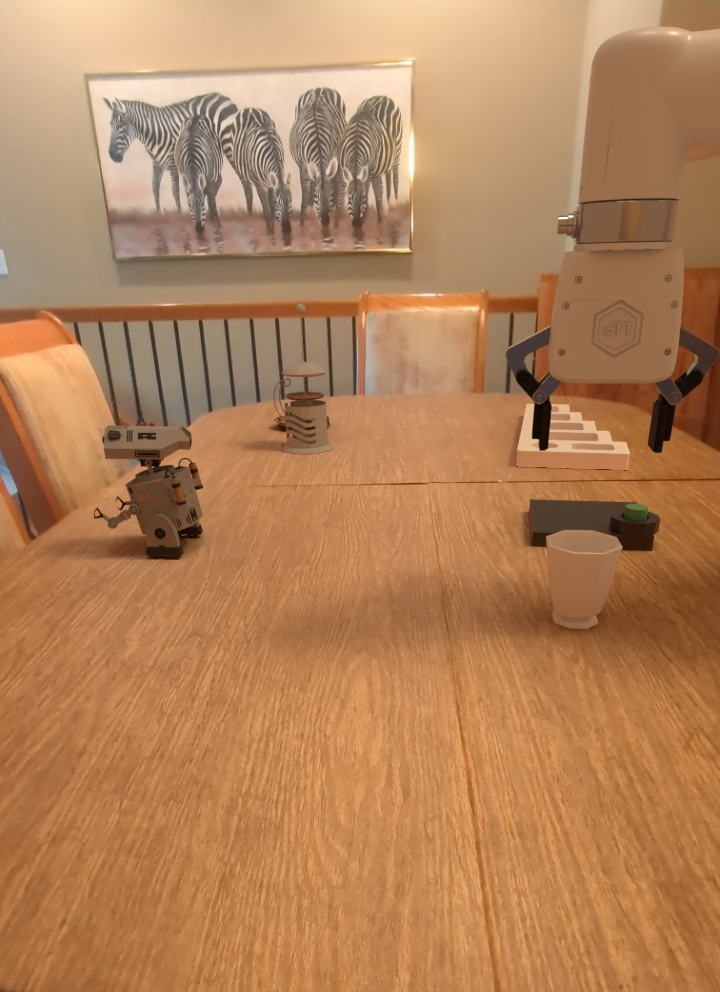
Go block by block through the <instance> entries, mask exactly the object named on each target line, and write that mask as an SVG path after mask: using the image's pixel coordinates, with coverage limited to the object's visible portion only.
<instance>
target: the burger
mask: <svg viewBox="0 0 720 992" xmlns="http://www.w3.org/2000/svg"><path fill="white" fill-rule="evenodd" d="M310 391H311V392H313V389H311V390H310ZM311 400H312V399H311ZM296 401H298V400H296ZM307 407H313V405H312V406H307ZM288 415H289V416H291V413H290V412H288ZM281 416H283V417H284V418H285V414H284V415H281ZM281 416H280V415H279V416H278V417H276V418H274V419H273V421H274V422H275V423H276V424H278V425H279V426H281V427H285V428H286V421H285V419H283V418H282V417H281ZM302 419H303V418H302ZM312 422H315V420H308V421H306V422H304V423H312ZM289 423H291V420H290V419H289ZM328 426H331V424H330V417H329V416H328V415H327V427H328ZM290 428H291V429H292V427H289V429H290ZM313 429H315V427H314V426H313V427H308V428H306V430H313Z"/></svg>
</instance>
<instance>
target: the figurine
mask: <svg viewBox="0 0 720 992" xmlns="http://www.w3.org/2000/svg"><path fill="white" fill-rule="evenodd" d="M192 435H193V434H192V432H191V431H190V430H188V429H187V428H186V427H184V426H181V425H180V426H171V425H167V426H166V425H163V426H162V425H156V424H155V423H154V422H150V423H149V424H148V425H107V426H106V427H105V428H104V435H102V439H101V440H102V444H103V452H104V458H105V460H136V461H139V465H140V467H141V468H144V467H145V468H146V467H147V468H146V469H145V470H141V471H140V472H138V473H136V474H135V476H134V477H135V478H133V479H132V480H130V481H128V482H127V483H125V487H126V490H127V493H128V495H129V496H128V497H129V499H130V500H128V501H127V500H126V501H123V499H121V498H120V496H116V499H115V501H114V502H118V501H119V502H120V503H121V506H120V507H119V506H116V509H118V510H119V511H120V512H119V514H117V515H116V516H112V517H109V516H107V515H106V514H104V513H103V512H102V511H101V510H100V509H99V507H96V508H95V510H94V511H93V519H94V520H97V519H103V520H105V521H106V522H107V527H108V528H109V529H111V530H114V529H116V528H117V527H118V526H119V524H121V523H123V522H124V521H125V522H126V521H128V520H130V519H131V518H132V516H136V519H137V522H138V525H139V528H140V531H141V534H142V535H145V536H146V547H145V555H146V556H148V557H149V558H150V559H154V558H156V559H161V558H162V557H163V556H164V557H165V558H166V559H168V560H170V559H172V558H173V559H174V560H176V559H178V558H179V557H181V556H182V555H183V554H184V552H185V551H184V549H183V548H184V547H183V544H181V542H180V538H181V537H182V536H183V535H184V536H186V537H187V538H191V537H193V538H197V537H198V536H200V535H202V533H204V531H203V526H202V524H201V522H200V519H201V518H202V517H204V514H203V510H202V507H201V504H200V501H199V497H198V493H197V491H198V490H202V489H204V485H203V483H202V480H201V477H200V476H201V475H200V473H199V469H198V466H197V463H196V462H192V460H191V459H190V458H188V457H183V458H181V459H179V461H178V465H177V466H175V465H173V464H164V465H161V464H162V462H163V461H164V460H165V458H167V457H169V456H171V455H172V454H174V453H176V452H178V451H179V450H181V451H182V450H187V451H188V450H189V451H190V450H191V449H192V446H193V437H192ZM184 460H188V461H189V464H188V466H186V465H185V466H184V465H181V462H182V461H184ZM125 506H128V509H124V508H125ZM96 512H98V515H97V516H96Z"/></svg>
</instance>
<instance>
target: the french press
mask: <svg viewBox="0 0 720 992" xmlns="http://www.w3.org/2000/svg"><path fill="white" fill-rule="evenodd" d="M294 311H295V312H299V317H300V335H301V336H300V337H301V338H300V339H301V353H302V354H301V356H302V361H300V362H297V363H294V364H291V365H289V366H287V367H286V368H285V369H283V370H282V371H281V375H282V376H284V377H287V378H282V379H280V380H278V382H276V384H275V386H274V388H273V396H272V397H273V405H274V408H275V410H276V413H277V414H278V416H279V417H280V416H281V417H282V418H283V419H285V421H286V427H285V434H286V443H285V444H284V445H283V446H282V447H281V450H282V451H283V452H285V453H289V454H297V455H309V454H311V455H312V454H313V455H314V454H320V453H321V454H322V453H325V452H329V451H331V450H333V449H334V445H333V444H332V443H331V442H330V441H329V439H328V426H327V416H328V414H327V413H328V412H327V401H325V400H320V399H323V398H324V397H325V394H324V392H321V391H312V392H311V390H310V391H306V378H316V377H322V376H325V375H326V373H327V370H326V369H324V368H323V367H322V366H320V365H318V364H315V363H311V362H307V361H305V357H304V356H305V355H304V337H303V319H302V318H303V317H302V316H303V315H302V312H306V311H307V309H306V306H305V305H304V303H298V304H297V305H295V308H294ZM291 378H303V391H302V390H301V391H295V392H289V393H286V394H285V398H286V399H287V400H290V402H285V403H284V408H283V405H282V401H281V389H282V387H283V385H284V387H285V388H289V387H290V386H291V385H292V383H291V382H292V380H291ZM286 381H288V382H289V383H288V384H286ZM279 384H280V385H279ZM278 385H279V388H278V403H279V405H280V408H281V412H283V414H284V415H285V418H284V417H283V416H284V415H282V414H281V413H280V412H279V410H278V408H277V405H276V397H275V396H276V395H275V394H276V390H277V387H278ZM311 399H312V400H311ZM297 400H298V401H297ZM312 405H313V407H307V406H312ZM288 412H290V413H291V416H289V415H288V414H290V413H288ZM302 418H303V419H302ZM289 419H290V420H291V423H289ZM308 420H315V422H312V423H304V422H306V421H308ZM313 426H314V427H315V429H313V430H307V428H308V427H313ZM290 427H291V429H290Z"/></svg>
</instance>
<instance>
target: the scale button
mask: <svg viewBox="0 0 720 992" xmlns="http://www.w3.org/2000/svg"><path fill="white" fill-rule="evenodd" d="M648 512H649V506H648V505H645V504H641V503H637V504H628V505H626V506H625V513H624V518H625V519H630V520H641V521H642V520H647V514H648Z"/></svg>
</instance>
